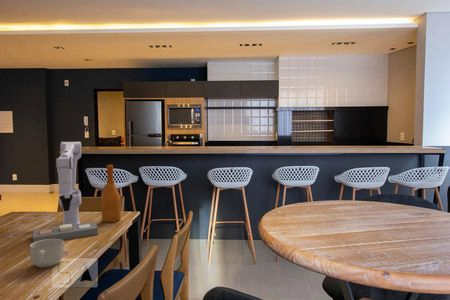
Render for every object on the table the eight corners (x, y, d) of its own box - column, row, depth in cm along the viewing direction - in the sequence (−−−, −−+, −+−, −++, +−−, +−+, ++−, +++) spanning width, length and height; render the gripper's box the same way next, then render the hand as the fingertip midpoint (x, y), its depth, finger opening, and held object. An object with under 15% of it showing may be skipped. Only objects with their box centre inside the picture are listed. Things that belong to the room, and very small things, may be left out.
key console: (33, 236, 146) (33, 230, 146) (94, 227, 159) (93, 221, 159) (33, 244, 136) (32, 237, 136) (98, 234, 149) (97, 227, 149)
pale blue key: (78, 229, 153) (78, 225, 152) (89, 227, 155) (89, 223, 155) (79, 232, 148) (79, 228, 148) (91, 230, 151) (91, 226, 151)
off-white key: (59, 229, 148) (59, 225, 148) (71, 227, 151) (71, 223, 151) (60, 232, 144) (60, 228, 144) (72, 230, 147) (72, 226, 147)
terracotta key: (39, 235, 144) (39, 231, 144) (52, 233, 147) (52, 229, 147) (39, 238, 140) (39, 234, 140) (52, 236, 143) (52, 232, 143)
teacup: (39, 258, 121) (38, 238, 121) (69, 257, 122) (68, 237, 122) (19, 275, 107) (18, 252, 107) (53, 274, 108) (52, 251, 108)
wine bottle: (116, 216, 178) (114, 163, 176) (124, 220, 171) (122, 164, 169) (98, 220, 172) (96, 164, 169) (106, 224, 164) (104, 166, 162)
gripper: (76, 183, 147) (77, 212, 147) (73, 179, 159) (74, 206, 160) (59, 184, 143) (60, 214, 144) (57, 181, 155) (58, 208, 156)
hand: (66, 210), depth 151 cm, fingers closed
